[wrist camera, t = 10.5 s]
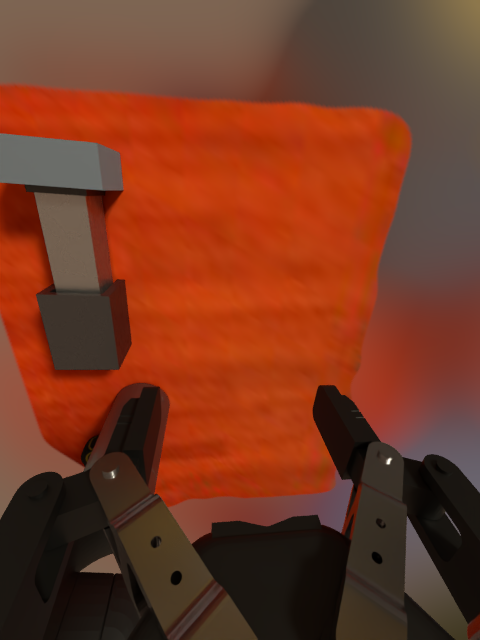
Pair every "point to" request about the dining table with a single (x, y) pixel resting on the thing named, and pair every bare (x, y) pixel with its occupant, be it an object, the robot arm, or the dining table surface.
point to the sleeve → (86, 327)
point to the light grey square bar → (75, 238)
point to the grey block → (59, 163)
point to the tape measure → (88, 450)
